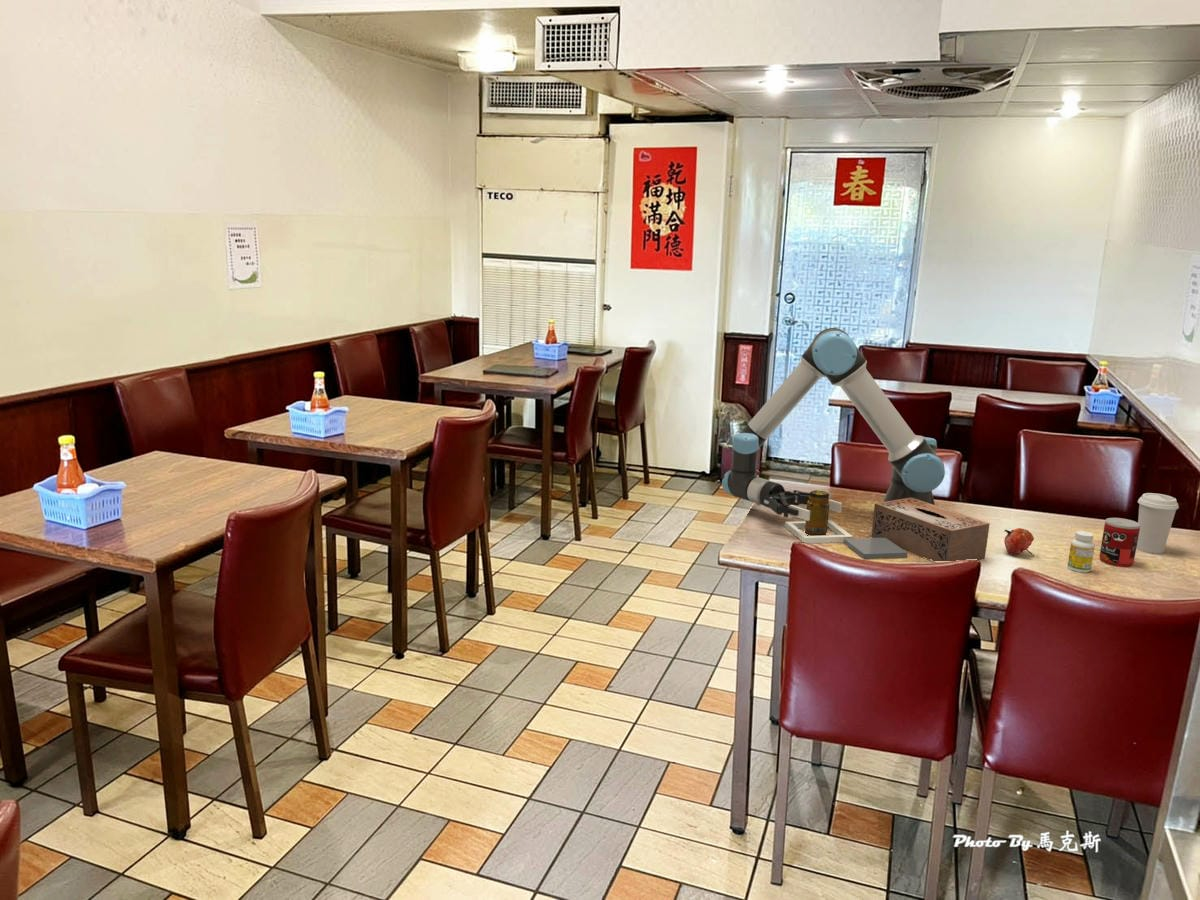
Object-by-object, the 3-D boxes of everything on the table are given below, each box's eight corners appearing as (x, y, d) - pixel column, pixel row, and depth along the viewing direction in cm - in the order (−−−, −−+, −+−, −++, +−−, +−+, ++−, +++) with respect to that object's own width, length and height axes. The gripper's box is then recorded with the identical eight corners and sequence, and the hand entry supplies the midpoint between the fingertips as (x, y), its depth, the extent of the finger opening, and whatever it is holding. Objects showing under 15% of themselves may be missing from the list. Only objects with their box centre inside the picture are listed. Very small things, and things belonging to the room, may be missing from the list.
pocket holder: (831, 525, 259) (831, 520, 259) (852, 542, 246) (853, 536, 245) (784, 527, 257) (785, 521, 256) (803, 543, 243) (804, 537, 243)
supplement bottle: (1089, 574, 227) (1095, 538, 225) (1066, 569, 230) (1071, 534, 228) (1091, 568, 232) (1097, 532, 229) (1068, 563, 234) (1073, 528, 232)
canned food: (1092, 556, 240) (1099, 517, 238) (1120, 556, 241) (1127, 517, 238) (1110, 567, 233) (1117, 526, 230) (1139, 567, 234) (1147, 526, 231)
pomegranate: (1025, 558, 244) (997, 532, 246) (1047, 542, 240) (1017, 515, 242) (1022, 569, 238) (992, 542, 240) (1043, 553, 234) (1013, 525, 236)
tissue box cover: (871, 537, 251) (874, 503, 248) (907, 531, 258) (911, 497, 255) (947, 568, 229) (951, 530, 227) (984, 559, 236) (989, 523, 234)
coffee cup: (1170, 558, 241) (1180, 504, 238) (1128, 550, 246) (1138, 497, 243) (1170, 548, 249) (1180, 496, 246) (1130, 541, 254) (1139, 490, 251)
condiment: (813, 528, 257) (817, 487, 254) (838, 536, 250) (842, 494, 248) (797, 533, 252) (800, 491, 249) (822, 541, 246) (826, 499, 243)
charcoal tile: (884, 542, 246) (885, 537, 246) (906, 557, 235) (907, 552, 235) (843, 543, 244) (844, 538, 244) (863, 559, 233) (864, 554, 232)
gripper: (794, 499, 273) (852, 517, 256) (736, 512, 258) (793, 532, 241) (796, 475, 271) (854, 492, 255) (737, 487, 256) (796, 505, 240)
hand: (825, 511), depth 248 cm, fingers open, 13 cm apart
